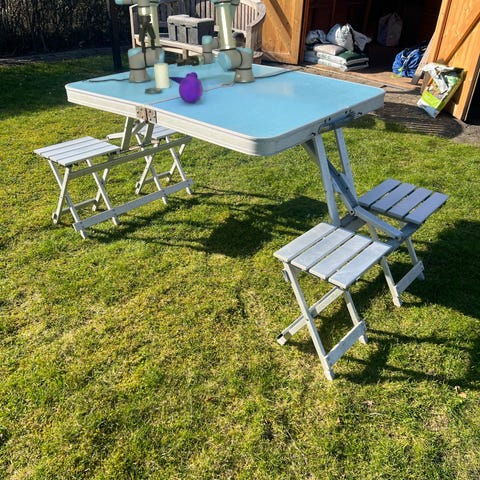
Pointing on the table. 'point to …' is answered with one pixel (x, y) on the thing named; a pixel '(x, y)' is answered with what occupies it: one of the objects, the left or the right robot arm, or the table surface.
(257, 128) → the table surface
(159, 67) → the jar
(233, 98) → the table surface
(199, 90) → the toy
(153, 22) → the left robot arm
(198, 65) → the right robot arm
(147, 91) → the lid
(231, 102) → the table surface
